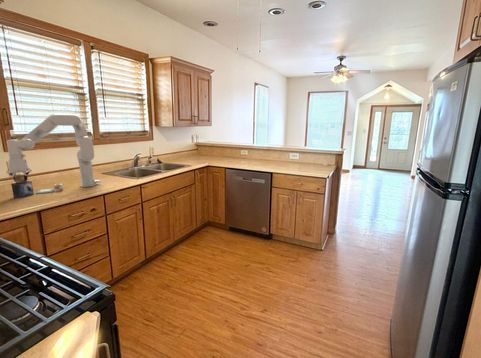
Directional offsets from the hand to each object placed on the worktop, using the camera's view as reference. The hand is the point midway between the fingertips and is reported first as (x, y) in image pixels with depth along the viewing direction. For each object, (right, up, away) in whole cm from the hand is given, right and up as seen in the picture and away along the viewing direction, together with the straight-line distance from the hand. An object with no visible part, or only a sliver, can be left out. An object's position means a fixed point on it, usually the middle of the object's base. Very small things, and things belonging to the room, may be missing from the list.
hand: (21, 180), depth 191 cm
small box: (0, -11, +3) cm, 12 cm away
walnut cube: (0, -1, 0) cm, 1 cm away
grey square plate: (+8, -9, +14) cm, 18 cm away
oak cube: (+16, -8, +18) cm, 25 cm away
